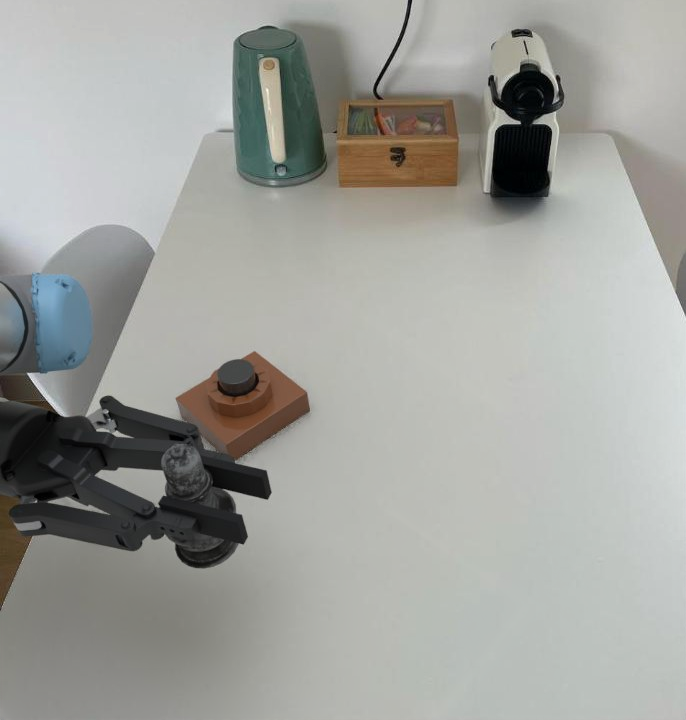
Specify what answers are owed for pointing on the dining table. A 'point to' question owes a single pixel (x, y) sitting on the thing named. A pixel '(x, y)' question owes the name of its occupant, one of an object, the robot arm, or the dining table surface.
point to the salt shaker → (196, 487)
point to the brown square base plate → (244, 409)
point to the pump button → (237, 378)
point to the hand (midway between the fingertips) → (254, 506)
